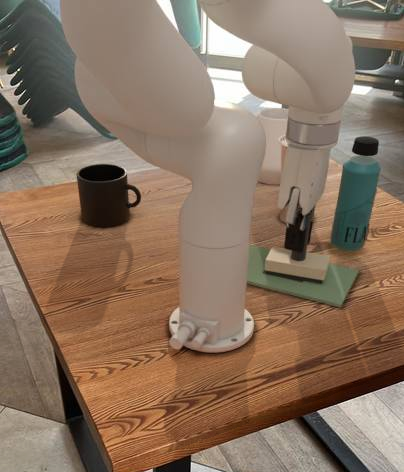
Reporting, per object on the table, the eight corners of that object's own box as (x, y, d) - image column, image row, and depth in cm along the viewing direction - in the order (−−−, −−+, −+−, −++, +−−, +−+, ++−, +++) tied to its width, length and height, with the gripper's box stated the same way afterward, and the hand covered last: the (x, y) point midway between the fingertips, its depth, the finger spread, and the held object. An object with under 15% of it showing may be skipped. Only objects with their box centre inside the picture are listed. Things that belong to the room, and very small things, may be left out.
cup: (263, 192, 124) (269, 126, 116) (232, 171, 133) (235, 109, 125) (313, 181, 129) (322, 117, 121) (279, 162, 138) (285, 101, 130)
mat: (340, 307, 90) (341, 303, 90) (224, 277, 96) (224, 274, 96) (358, 272, 98) (359, 269, 98) (250, 247, 105) (250, 244, 104)
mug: (137, 230, 109) (134, 184, 104) (76, 226, 110) (70, 180, 105) (146, 209, 117) (144, 165, 111) (89, 205, 118) (84, 162, 112)
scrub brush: (323, 285, 94) (333, 223, 87) (264, 274, 96) (269, 214, 89) (328, 270, 97) (338, 210, 91) (270, 260, 100) (276, 201, 93)
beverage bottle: (337, 261, 101) (358, 147, 89) (321, 243, 106) (339, 133, 94) (370, 256, 103) (396, 144, 90) (353, 240, 108) (375, 131, 95)
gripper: (305, 112, 89) (291, 222, 101) (268, 142, 78) (257, 262, 89) (352, 119, 87) (332, 231, 98) (321, 152, 75) (303, 273, 87)
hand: (296, 245), depth 94 cm, fingers closed on scrub brush, 2 cm apart
